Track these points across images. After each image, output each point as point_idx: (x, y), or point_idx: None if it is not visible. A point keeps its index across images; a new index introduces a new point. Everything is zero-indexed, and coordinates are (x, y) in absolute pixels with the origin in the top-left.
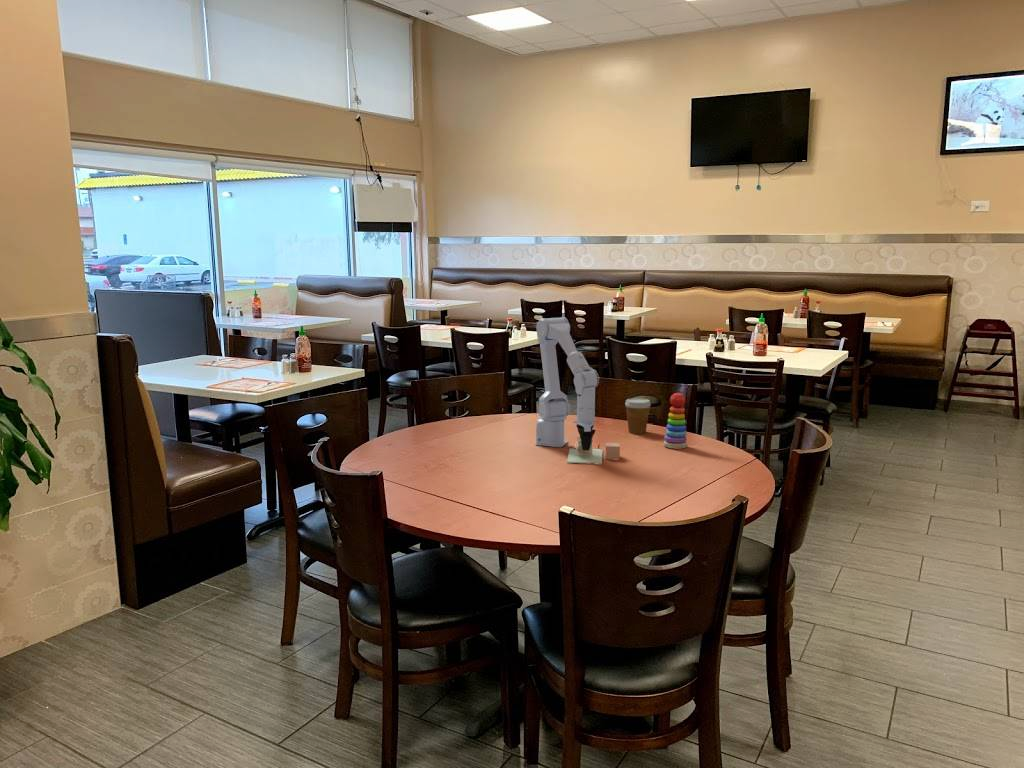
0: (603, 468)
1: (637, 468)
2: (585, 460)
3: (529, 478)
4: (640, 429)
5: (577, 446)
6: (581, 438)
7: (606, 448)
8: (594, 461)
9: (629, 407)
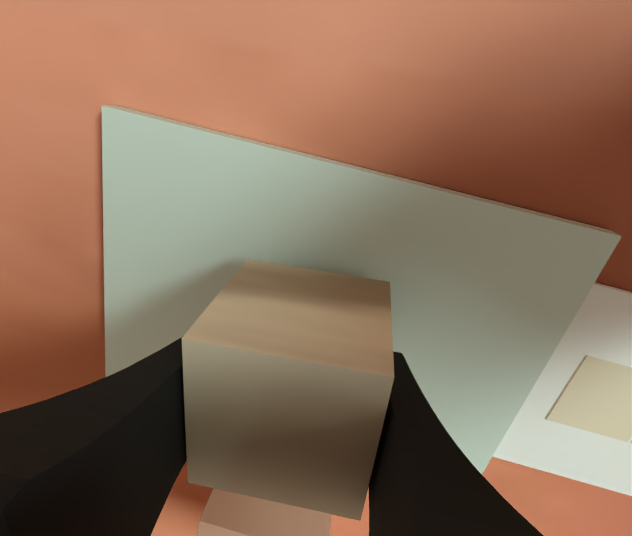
0: (25, 351)
1: None
2: (151, 282)
3: None
4: None
5: (385, 304)
6: (78, 392)
7: (208, 505)
8: (127, 339)
9: None
